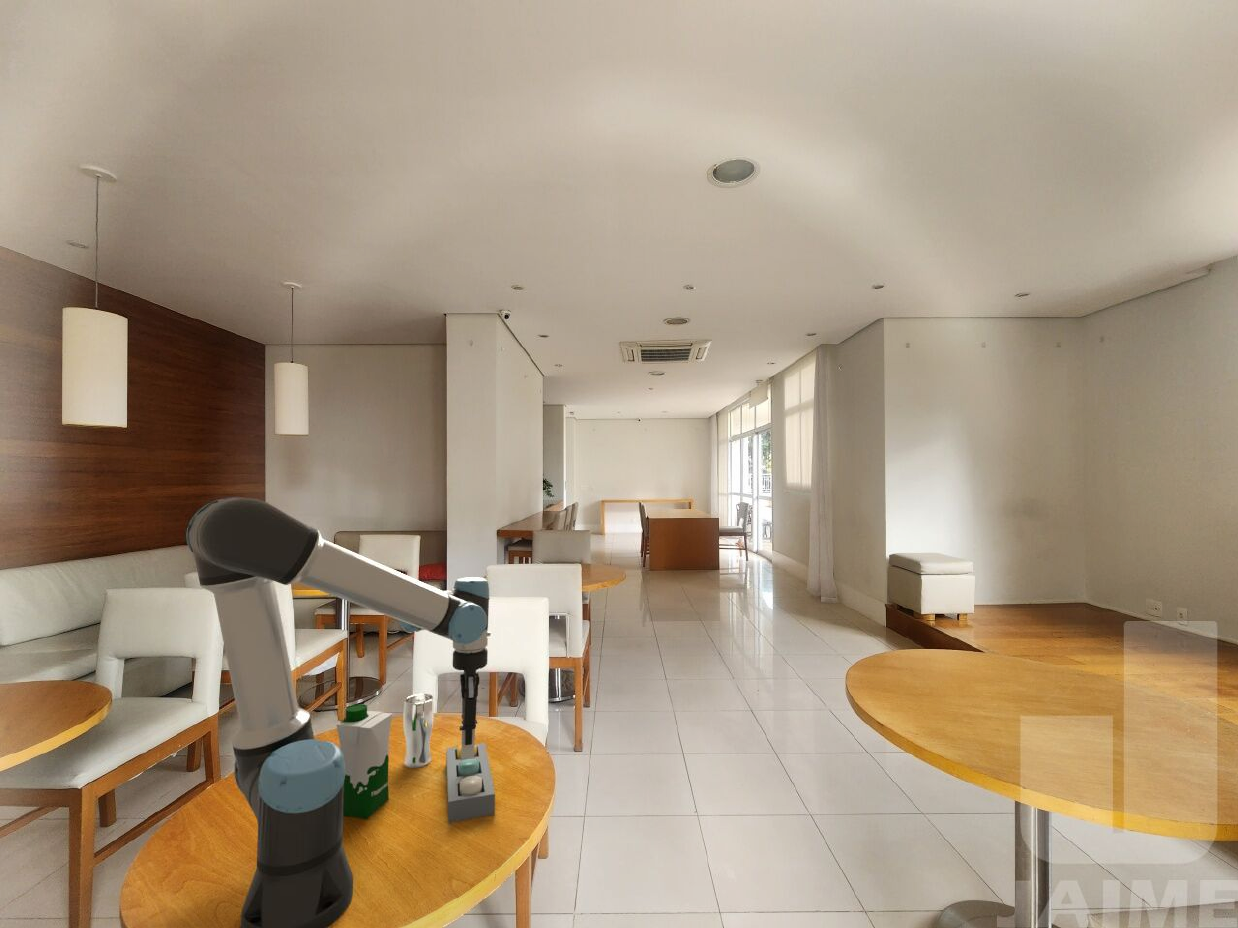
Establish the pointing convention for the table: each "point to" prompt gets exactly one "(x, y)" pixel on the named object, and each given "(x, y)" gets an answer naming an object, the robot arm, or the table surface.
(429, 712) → the beer glass
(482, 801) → the console
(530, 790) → the table surface
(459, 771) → the button teal
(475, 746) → the button amber
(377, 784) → the milk carton
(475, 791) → the button ivory
